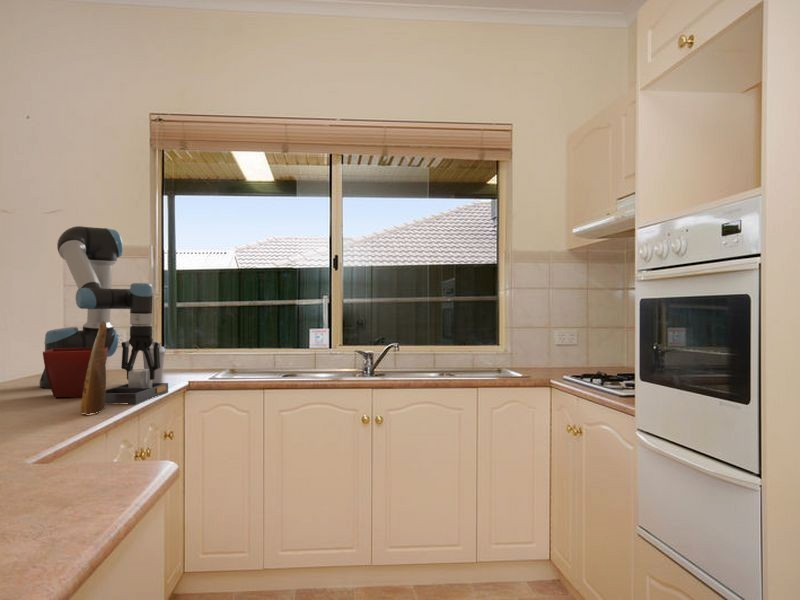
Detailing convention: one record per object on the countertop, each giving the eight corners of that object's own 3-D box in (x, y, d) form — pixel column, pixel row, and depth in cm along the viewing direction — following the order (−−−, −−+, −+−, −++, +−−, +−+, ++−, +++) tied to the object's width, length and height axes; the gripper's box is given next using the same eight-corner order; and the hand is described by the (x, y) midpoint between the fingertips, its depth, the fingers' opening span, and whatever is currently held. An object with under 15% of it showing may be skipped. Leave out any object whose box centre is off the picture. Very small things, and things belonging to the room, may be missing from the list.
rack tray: (92, 404, 204) (92, 393, 204) (129, 392, 232) (129, 382, 232) (136, 404, 204) (136, 393, 204) (169, 392, 232) (169, 383, 232)
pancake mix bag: (113, 406, 201) (113, 320, 201) (101, 416, 182) (102, 322, 182) (90, 406, 199) (91, 320, 199) (76, 417, 180) (77, 322, 181)
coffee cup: (136, 382, 258) (136, 347, 258) (154, 380, 266) (155, 345, 266) (152, 384, 253) (152, 348, 254) (170, 381, 262) (170, 346, 262)
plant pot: (51, 393, 228) (51, 347, 228) (108, 390, 235) (108, 346, 235) (41, 400, 210) (41, 351, 210) (103, 398, 217) (103, 350, 217)
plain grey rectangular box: (128, 394, 220) (128, 371, 220) (140, 390, 230) (140, 368, 230) (140, 394, 219) (140, 371, 220) (152, 390, 229) (152, 369, 230)
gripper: (110, 325, 221) (110, 389, 221) (162, 325, 221) (162, 390, 221) (120, 324, 229) (119, 387, 228) (170, 325, 228) (170, 387, 228)
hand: (140, 388), depth 225 cm, fingers open, 6 cm apart
